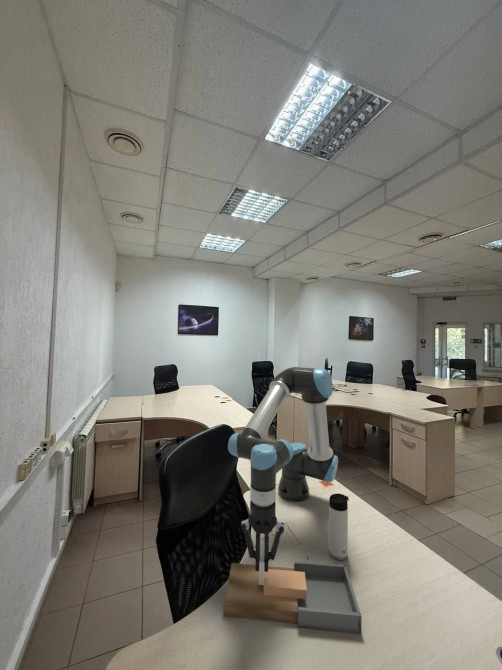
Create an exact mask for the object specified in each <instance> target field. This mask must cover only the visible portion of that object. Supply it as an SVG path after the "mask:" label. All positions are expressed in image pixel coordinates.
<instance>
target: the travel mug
mask: <svg viewBox="0 0 502 670" xmlns="http://www.w3.org/2000/svg"><path fill="white" fill-rule="evenodd" d="M348 502H350V499H349V496H347V495H345V494H342V493H333V494H331V495H329V502H328V554H329V555H330V557H332V558H333V559H334V560H336V561H337V560H338V561H344V560H346V559H347V558H348V540H349V539H348V536H349V534H348V529H349V527H348V525H349V524H348V520H349V519H348V515H349V514H348V513H349V512H348V508H349V507H348Z"/></svg>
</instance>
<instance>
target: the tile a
mask: <svg viewBox="0 0 502 670" xmlns="http://www.w3.org/2000/svg"><path fill="white" fill-rule="evenodd" d="M264 595H267V596H278V597H285V570H275V569H268V572H265V573H264Z"/></svg>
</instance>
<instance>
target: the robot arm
mask: <svg viewBox="0 0 502 670" xmlns="http://www.w3.org/2000/svg"><path fill="white" fill-rule="evenodd" d="M333 387H334V385H333V378H332V375H331V373H330V371H328V370H327V369H324V368H319V367H317V368H316V367H314V368H313V367H300V366H299V367H298V366H293V367H292V366H291V367H289V368H286V369H284V370H282V371H281V372H279V373H278V374H277V375H276V376H275V377H274V378H273V379H272V380H271V381H270V383H269V386H268V391H267V392H266V394H265V395H264V397H263V398H262V400H261V401H260V403H259V405H258V406H257V408H256V409H255V412H253V414H252V416H251V417H250V419H249V421H248V422H247V424H246V426H245V427H244V428H243V430H242V432H241V433H239V432H238V433H236V432H235V433H233V434H232V435H231V436H230V437H229V439H228V443H227V450H228V452H229V453H230V454H231V456H234V457H237V458H240V459H244V460H248V461H250V463H249V464H250V492H249V493H250V494H249V495H250V497H249V498H250V501H249V515H248V518H246V519H242V520H241V524H240V528H241V529H240V530H242V532H243V534H244V540H245V543H246V549H247V552H248V557H249V559H254V560H255V563H254V565H255V569H256V571H259V585H264V573H265V572H268V566H269V562H270V561H275V558H276V554H277V550H278V549H279V548H278V547H279V543H280V539H281V536H282V535H283V533H284V532H285V524H284V522H279V521H278V519H277V518H278V517H277V516H276V510H277V509H276V507H277V506H276V505H277V504H276V502H277V501H276V500H277V499H276V498H277V492H279V493H278V495H279V494H280V495H281V496H282V497H281V496H280V495H279V496H280V497H281V498H282V499H284V498H285V499H284V500H287V501H290V502H300V501H304V500H307V499H308V498H309V497H310V487H309V485H308V481H307V477H310V478H312V479H315V480H319V481H322V482H329V483H332V482H333V481H334V480H335V477H336V475H337V470H338V465H339V457H338V455H335V454H334V450H333V449H332V448H331V446H330V442H329V440H330V439H329V430H328V429H329V426H328V417H327V403H326V402H328V401H329V399H330V397H331V396H332V395H333ZM290 394H297V395H301V400H302V401H303V403H305V409H306V417H307V419H306V420H307V428H308V438H309V439H308V440H309V447H308V448H307V446H306V444H305V443H302V442H291V443H290V441H288V440H287V439H284V438H283V439H282V438H281V439H277V440H275V441H272V440H269V439H264V436H265V435H266V434H267V431H268V430H269V428H270V426H271V424H272V422H273V420H274V418H275V417H276V414H277V413H278V412H279V409H280V407H281V406H282V404H283V402H284V401H285V399H287V398H289V396H290ZM280 471H281V477H280V480H279V483H278V485H277V483H276V481H277V474H278V473H279V472H280ZM277 486H278V487H277ZM276 491H277V492H276ZM250 526H251V528H252V530H253V532H254V531H255V532H254V533H255V546H254V544H253V543H254V542H252V541H253V538H252V537H251V535H252V534H251V529H250ZM273 529H275V533H274V535H275V536H273V541H272V545H271V549H270V541H269V540H270V533H272V532H273ZM271 531H272V532H271ZM261 535H264V537H263V538H264V544H263V545H264V546H263V547H264V551H263V552H264V553H263V554H261ZM255 547H256V548H255ZM269 549H270V551H269Z"/></svg>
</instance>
